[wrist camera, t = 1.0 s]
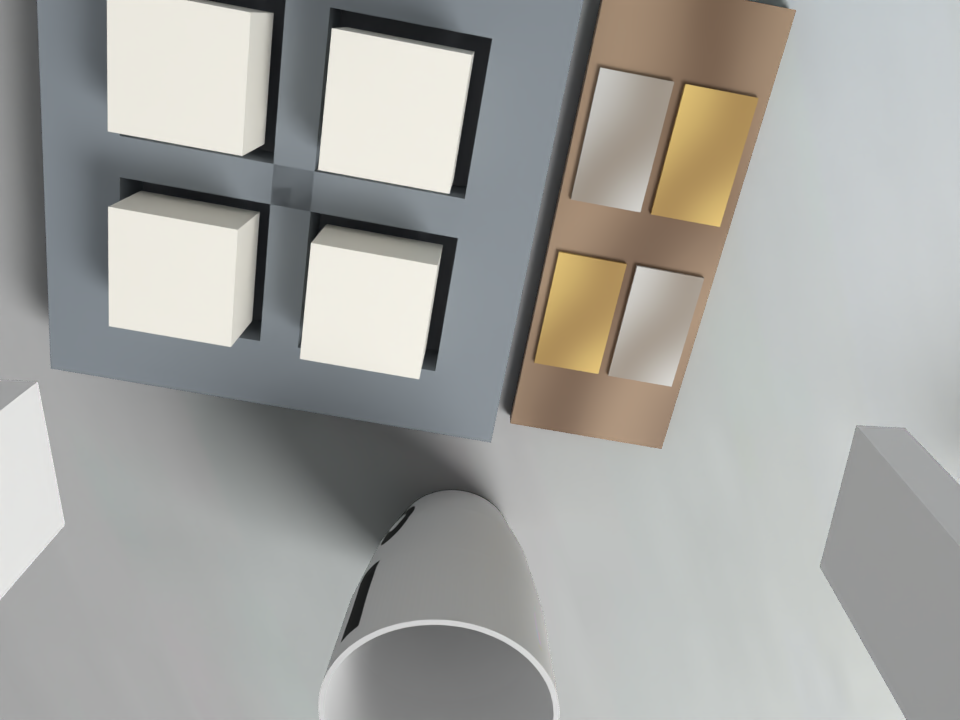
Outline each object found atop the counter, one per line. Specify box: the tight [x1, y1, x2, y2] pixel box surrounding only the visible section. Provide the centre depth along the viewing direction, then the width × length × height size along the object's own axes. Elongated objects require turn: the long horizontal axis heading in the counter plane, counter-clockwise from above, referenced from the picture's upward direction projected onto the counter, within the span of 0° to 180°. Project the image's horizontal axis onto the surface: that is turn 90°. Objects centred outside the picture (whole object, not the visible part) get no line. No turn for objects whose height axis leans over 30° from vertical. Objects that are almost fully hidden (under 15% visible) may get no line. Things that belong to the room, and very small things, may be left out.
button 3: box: [107, 0, 274, 156], centre depth 25 cm, size 4×4×3 cm
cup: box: [318, 490, 560, 720], centre depth 32 cm, size 8×8×10 cm
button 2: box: [300, 224, 443, 379], centre depth 28 cm, size 4×4×3 cm
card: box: [510, 0, 796, 449], centre depth 30 cm, size 6×17×1 cm, turn 170°
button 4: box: [108, 191, 260, 347], centre depth 28 cm, size 4×4×3 cm
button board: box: [37, 0, 583, 442], centre depth 29 cm, size 17×17×2 cm
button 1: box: [318, 27, 475, 194], centre depth 26 cm, size 4×4×3 cm
